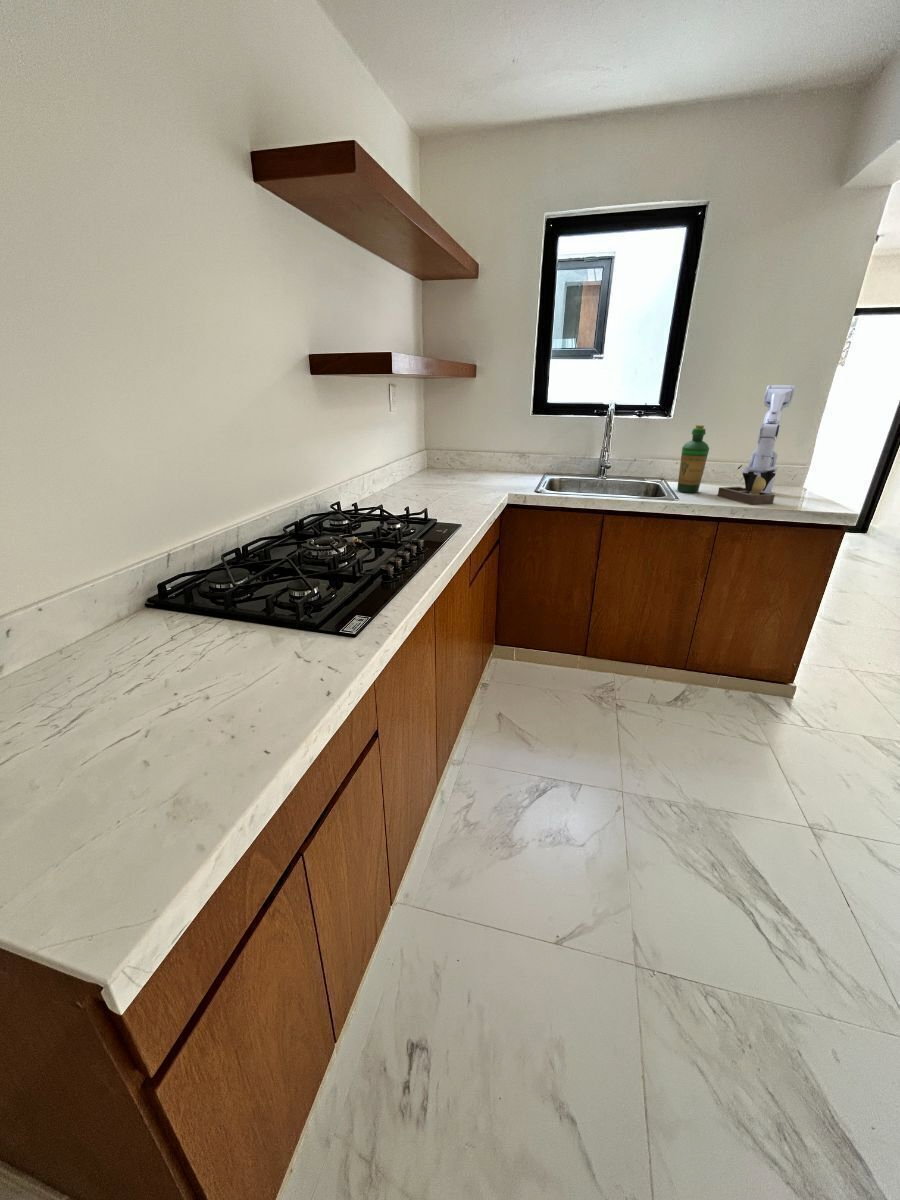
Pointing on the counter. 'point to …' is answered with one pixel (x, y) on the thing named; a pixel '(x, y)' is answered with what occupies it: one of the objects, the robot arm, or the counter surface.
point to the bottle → (693, 462)
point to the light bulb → (758, 486)
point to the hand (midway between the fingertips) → (754, 490)
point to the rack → (745, 495)
